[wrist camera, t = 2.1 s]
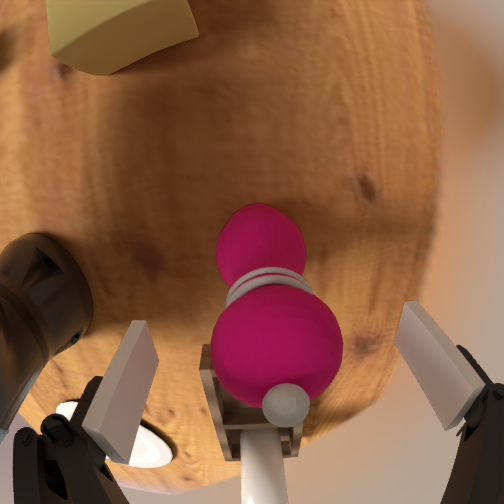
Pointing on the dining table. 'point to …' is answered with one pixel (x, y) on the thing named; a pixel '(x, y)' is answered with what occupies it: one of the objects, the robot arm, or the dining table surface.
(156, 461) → the plate
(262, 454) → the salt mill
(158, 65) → the dining table surface
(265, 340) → the pepper mill
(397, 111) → the dining table surface
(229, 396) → the wooden compartment tray
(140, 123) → the dining table surface
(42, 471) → the robot arm
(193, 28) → the cheese
